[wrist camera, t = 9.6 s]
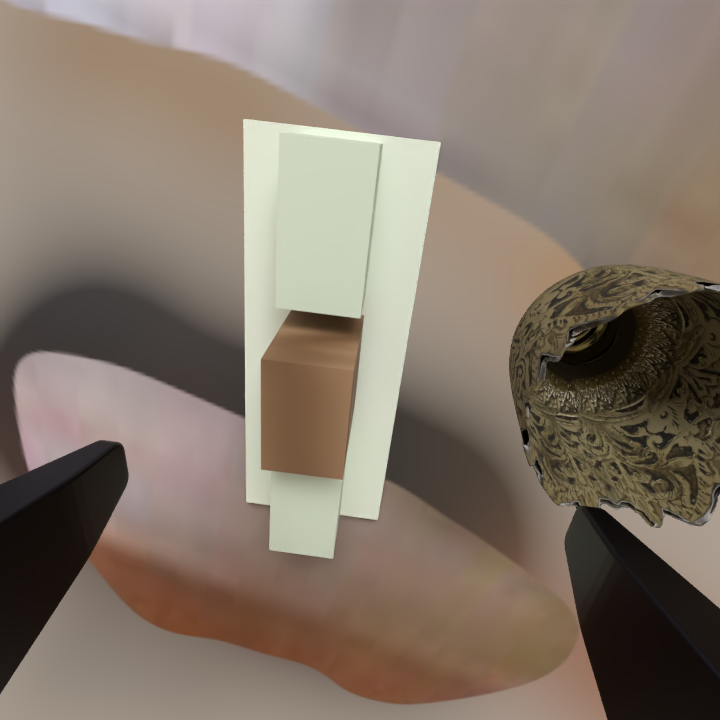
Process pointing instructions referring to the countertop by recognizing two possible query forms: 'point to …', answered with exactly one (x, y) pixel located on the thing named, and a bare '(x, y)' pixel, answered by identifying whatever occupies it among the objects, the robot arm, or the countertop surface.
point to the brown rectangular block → (309, 394)
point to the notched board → (375, 307)
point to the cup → (623, 391)
